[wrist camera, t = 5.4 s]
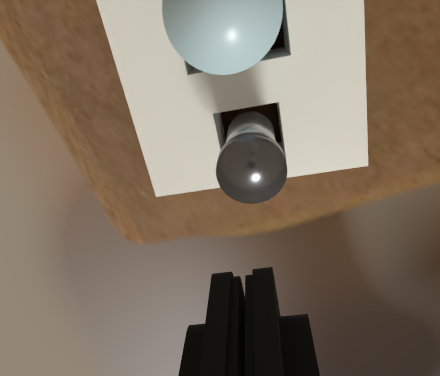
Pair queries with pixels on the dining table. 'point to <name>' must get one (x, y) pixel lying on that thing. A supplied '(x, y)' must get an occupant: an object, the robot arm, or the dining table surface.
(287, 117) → the housing
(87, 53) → the dining table surface
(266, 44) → the cylinder
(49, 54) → the dining table surface
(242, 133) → the dark capped shaker
